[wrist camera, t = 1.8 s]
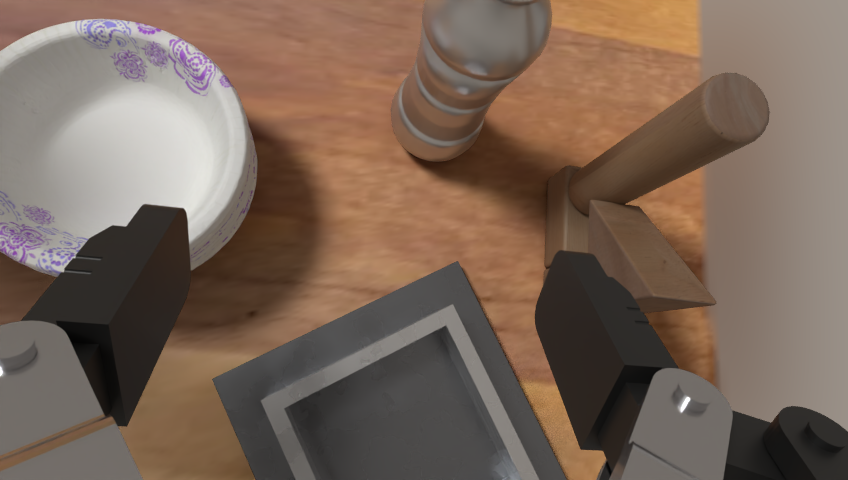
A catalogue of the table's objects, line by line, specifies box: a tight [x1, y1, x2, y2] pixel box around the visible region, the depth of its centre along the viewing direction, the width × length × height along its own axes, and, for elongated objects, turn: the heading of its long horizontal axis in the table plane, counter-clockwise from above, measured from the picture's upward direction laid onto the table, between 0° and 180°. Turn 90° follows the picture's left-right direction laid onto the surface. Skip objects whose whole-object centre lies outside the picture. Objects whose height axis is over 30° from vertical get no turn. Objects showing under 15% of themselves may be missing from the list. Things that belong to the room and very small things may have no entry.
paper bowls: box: [0, 19, 258, 277], centre depth 33 cm, size 15×15×8 cm
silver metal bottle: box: [391, 0, 552, 162], centre depth 32 cm, size 6×7×20 cm
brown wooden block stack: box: [543, 73, 769, 313], centre depth 33 cm, size 4×11×18 cm, turn 175°
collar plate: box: [212, 261, 567, 480], centre depth 34 cm, size 18×18×4 cm
